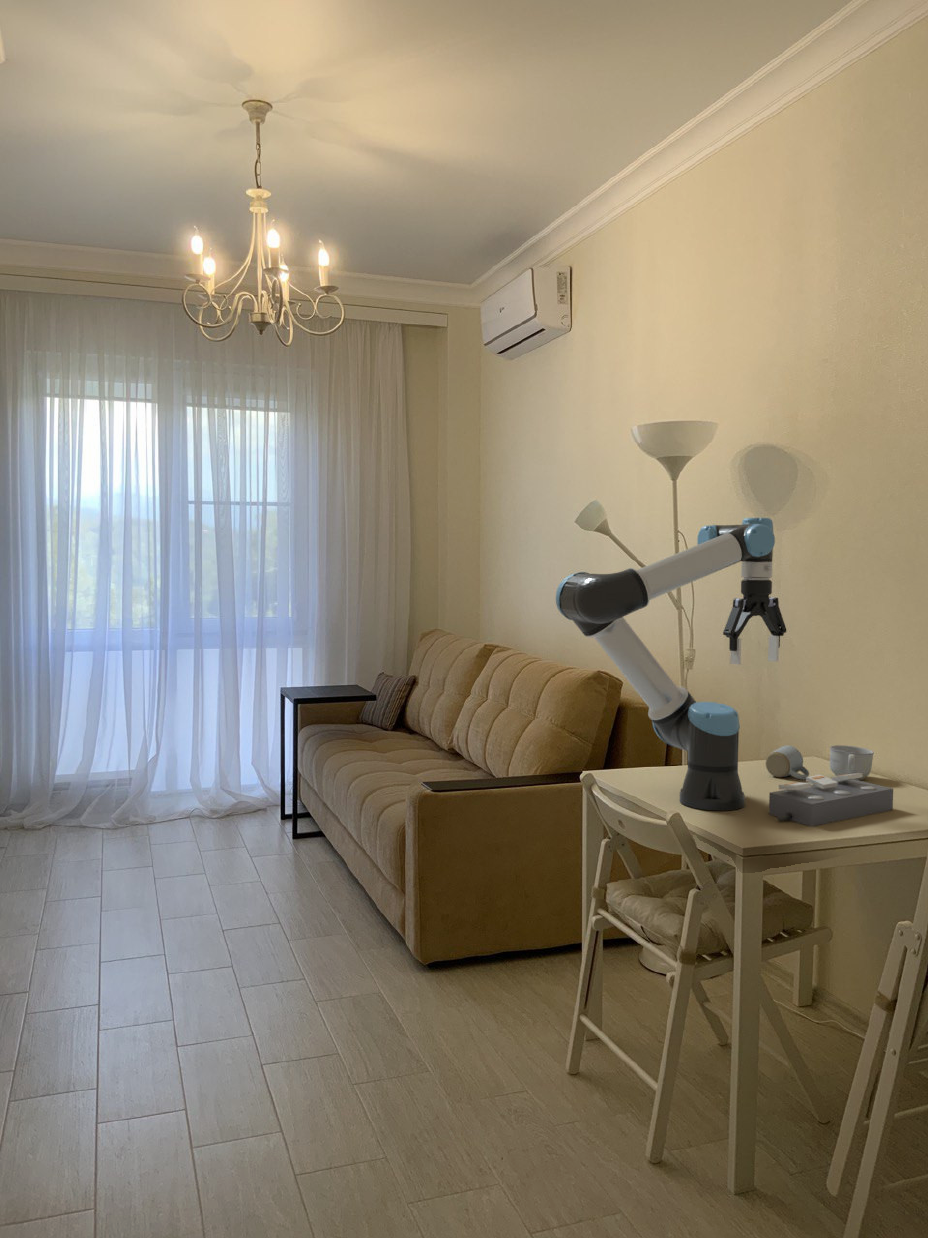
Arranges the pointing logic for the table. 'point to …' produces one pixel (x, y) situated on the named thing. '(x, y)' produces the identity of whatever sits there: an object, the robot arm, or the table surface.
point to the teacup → (850, 760)
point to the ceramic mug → (786, 763)
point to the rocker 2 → (821, 781)
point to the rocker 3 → (846, 777)
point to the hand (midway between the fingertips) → (754, 662)
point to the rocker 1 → (794, 786)
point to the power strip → (830, 802)
